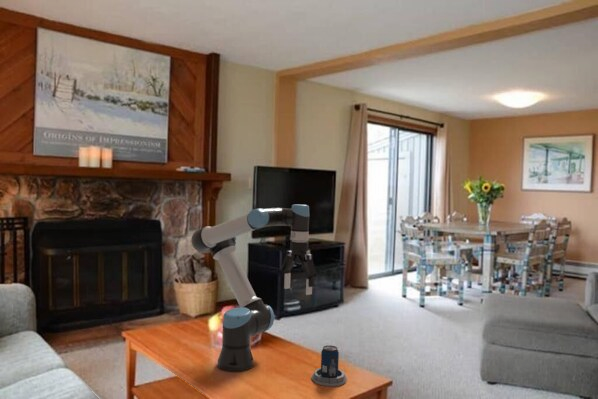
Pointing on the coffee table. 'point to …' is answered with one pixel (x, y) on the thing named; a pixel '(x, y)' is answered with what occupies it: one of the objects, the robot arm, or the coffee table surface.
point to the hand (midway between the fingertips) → (297, 291)
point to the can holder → (329, 379)
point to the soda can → (329, 362)
